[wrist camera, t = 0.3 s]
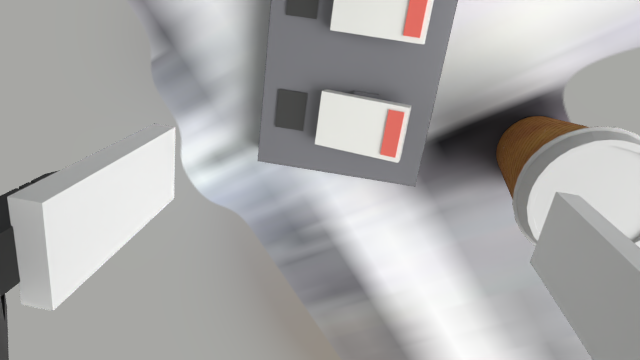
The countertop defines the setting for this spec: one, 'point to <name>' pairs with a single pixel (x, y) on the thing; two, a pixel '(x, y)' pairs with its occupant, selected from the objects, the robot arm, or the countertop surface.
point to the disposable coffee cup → (571, 171)
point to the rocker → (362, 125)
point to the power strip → (345, 86)
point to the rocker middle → (383, 18)
